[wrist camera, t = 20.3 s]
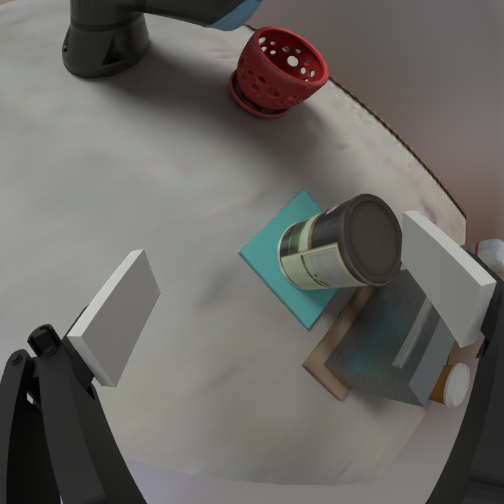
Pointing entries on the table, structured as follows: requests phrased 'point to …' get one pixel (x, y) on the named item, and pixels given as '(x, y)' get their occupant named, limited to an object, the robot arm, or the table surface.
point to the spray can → (489, 254)
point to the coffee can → (343, 246)
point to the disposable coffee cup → (451, 385)
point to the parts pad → (267, 268)
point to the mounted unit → (384, 344)
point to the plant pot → (276, 73)
